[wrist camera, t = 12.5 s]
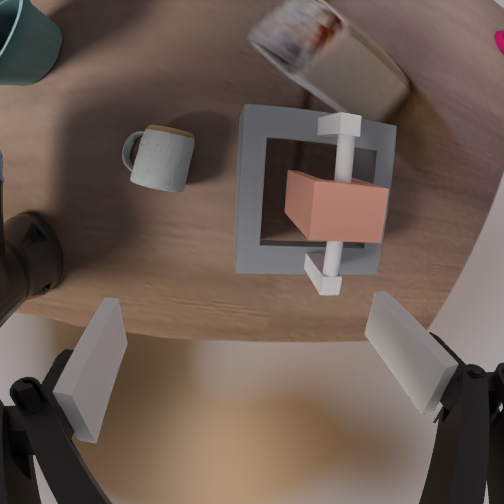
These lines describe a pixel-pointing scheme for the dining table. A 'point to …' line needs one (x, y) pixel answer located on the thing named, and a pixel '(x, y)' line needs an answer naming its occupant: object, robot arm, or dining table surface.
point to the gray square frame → (347, 166)
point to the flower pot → (26, 43)
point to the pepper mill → (500, 40)
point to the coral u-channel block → (336, 208)
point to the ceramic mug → (160, 157)
